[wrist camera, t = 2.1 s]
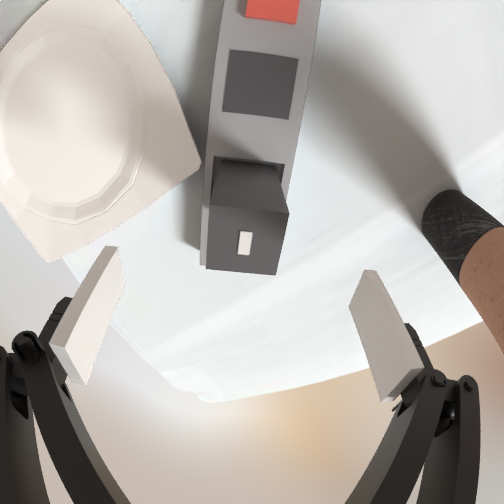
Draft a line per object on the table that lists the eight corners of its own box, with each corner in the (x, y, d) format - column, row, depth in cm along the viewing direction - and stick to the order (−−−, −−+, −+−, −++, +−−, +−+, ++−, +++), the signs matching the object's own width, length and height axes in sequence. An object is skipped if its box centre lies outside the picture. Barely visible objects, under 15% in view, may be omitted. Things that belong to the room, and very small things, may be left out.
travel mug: (415, 249, 30) (501, 393, 14) (423, 189, 26) (550, 331, 9) (462, 240, 29) (550, 360, 13) (472, 185, 25) (590, 300, 9)
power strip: (237, -50, 13) (235, -64, 11) (321, -38, 14) (330, -49, 11) (202, 252, 30) (198, 270, 27) (269, 258, 30) (271, 276, 28)
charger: (221, 159, 23) (209, 205, 16) (275, 165, 24) (289, 214, 16) (217, 207, 26) (205, 269, 18) (267, 212, 26) (275, 276, 19)
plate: (58, 261, 31) (49, 274, 28) (-33, 115, 18) (-47, 121, 16) (224, 162, 25) (222, 172, 23) (105, -37, 12) (93, -44, 10)
